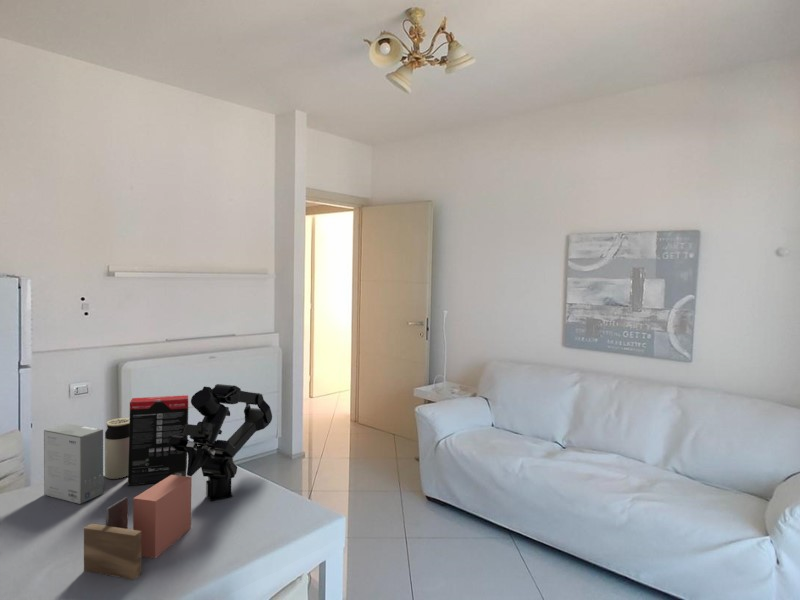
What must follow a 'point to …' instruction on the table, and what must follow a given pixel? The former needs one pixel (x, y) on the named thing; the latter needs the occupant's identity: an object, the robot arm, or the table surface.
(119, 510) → the bookend
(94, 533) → the shelf wall
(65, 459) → the hard drive box
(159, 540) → the book box
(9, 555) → the table surface
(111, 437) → the travel mug
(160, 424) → the graphics card box
